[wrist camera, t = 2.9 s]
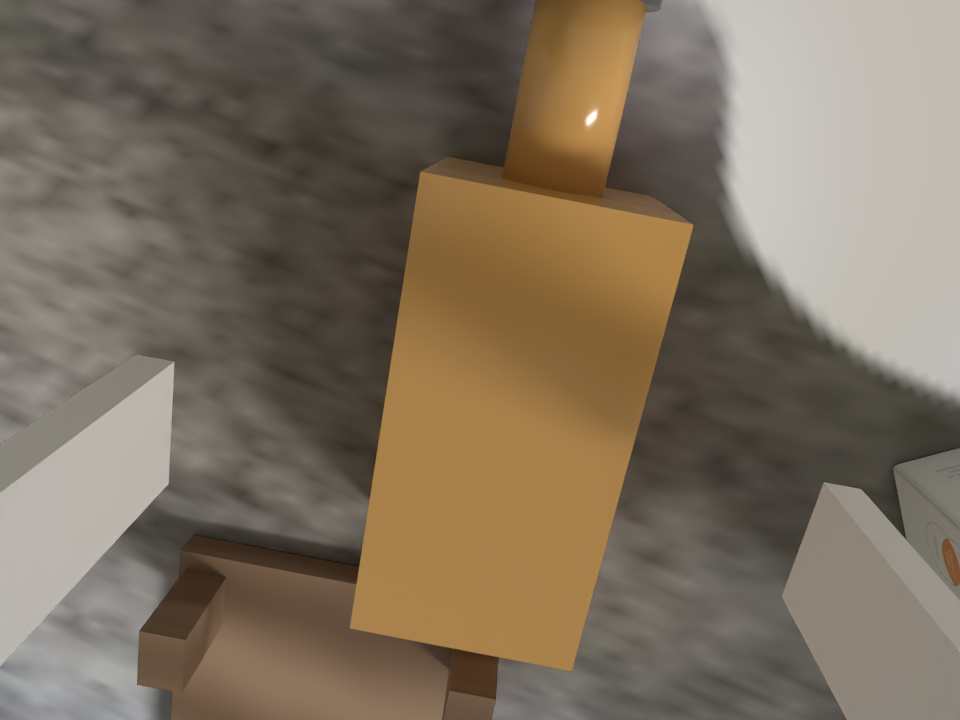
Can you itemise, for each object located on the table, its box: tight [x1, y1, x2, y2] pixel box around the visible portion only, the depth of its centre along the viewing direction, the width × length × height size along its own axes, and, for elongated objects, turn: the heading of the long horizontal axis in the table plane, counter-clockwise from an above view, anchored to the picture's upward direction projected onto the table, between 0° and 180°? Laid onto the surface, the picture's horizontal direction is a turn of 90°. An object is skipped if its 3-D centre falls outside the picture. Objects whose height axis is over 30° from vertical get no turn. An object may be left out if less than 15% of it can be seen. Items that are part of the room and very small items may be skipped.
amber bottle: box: [350, 0, 694, 671], centre depth 20 cm, size 18×6×6 cm, turn 170°
